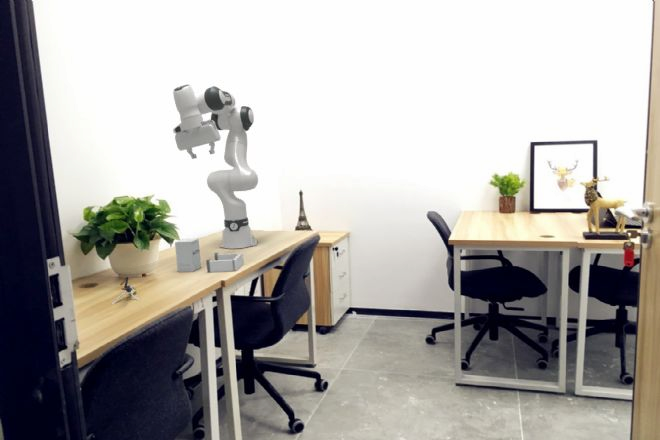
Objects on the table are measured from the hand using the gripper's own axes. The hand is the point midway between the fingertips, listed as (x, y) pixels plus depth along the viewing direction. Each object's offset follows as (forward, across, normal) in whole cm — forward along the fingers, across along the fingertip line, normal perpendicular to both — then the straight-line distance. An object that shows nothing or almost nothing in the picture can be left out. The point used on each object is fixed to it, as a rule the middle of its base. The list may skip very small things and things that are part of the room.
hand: (203, 156), depth 212 cm
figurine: (+39, +5, +59) cm, 71 cm away
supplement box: (+43, +10, +20) cm, 49 cm away
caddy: (+46, -4, +15) cm, 49 cm away
